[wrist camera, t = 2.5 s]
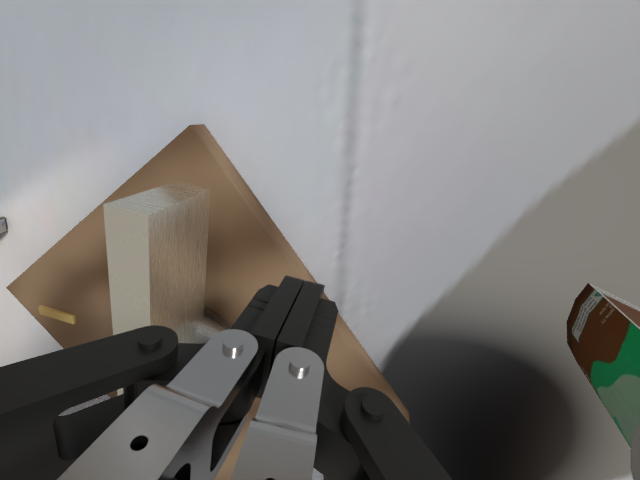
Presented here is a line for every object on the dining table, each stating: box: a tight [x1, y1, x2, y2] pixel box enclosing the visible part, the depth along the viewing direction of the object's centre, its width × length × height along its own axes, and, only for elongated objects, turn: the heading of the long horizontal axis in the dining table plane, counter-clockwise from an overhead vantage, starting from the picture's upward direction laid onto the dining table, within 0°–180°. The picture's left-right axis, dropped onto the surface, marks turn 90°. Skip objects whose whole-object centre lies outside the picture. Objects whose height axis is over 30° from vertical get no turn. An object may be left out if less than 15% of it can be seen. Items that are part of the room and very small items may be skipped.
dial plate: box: [6, 124, 410, 480], centre depth 24 cm, size 24×21×2 cm
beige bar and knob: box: [103, 182, 232, 396], centre depth 19 cm, size 18×9×6 cm, turn 169°
